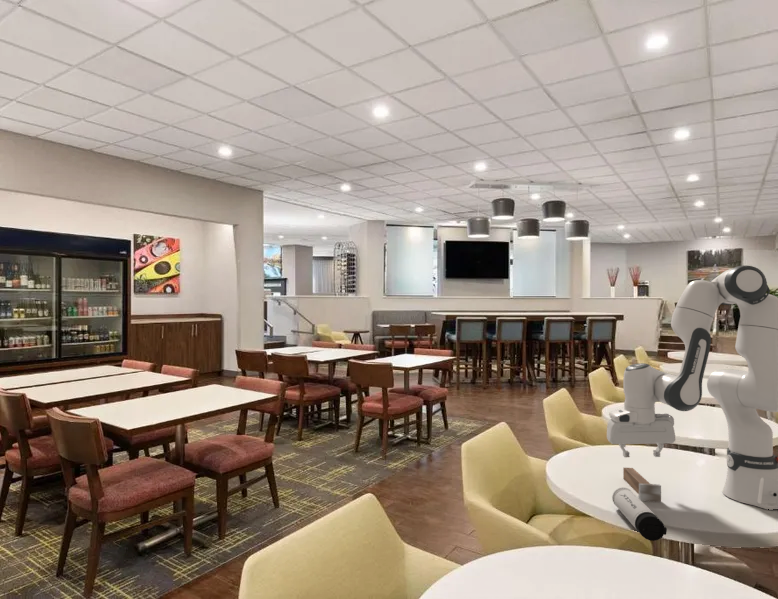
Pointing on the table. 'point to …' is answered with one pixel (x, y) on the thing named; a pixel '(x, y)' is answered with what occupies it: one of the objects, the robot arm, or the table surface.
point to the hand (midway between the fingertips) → (641, 456)
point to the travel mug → (639, 514)
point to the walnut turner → (642, 486)
